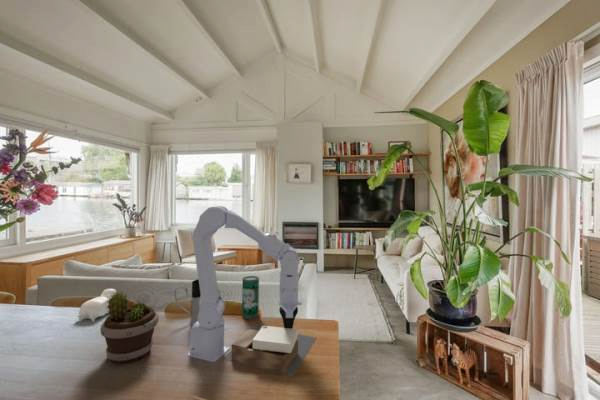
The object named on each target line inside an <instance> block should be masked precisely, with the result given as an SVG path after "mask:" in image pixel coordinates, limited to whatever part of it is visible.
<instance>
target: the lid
mask: <svg viewBox="0 0 600 400" xmlns="http://www.w3.org/2000/svg"><path fill="white" fill-rule="evenodd" d="M261 327H262V328H261V329H260V330H259V332H258V333H257V335H256V336H255V337H254V339H253V347H252V348H253V349H261V350H269V351H277V352H285V353H291V352H292V349H293V347H294V345H295V342H296V340H297V337H298V334H299V332H298V328H293V329H290V328H284V327H280V326H279V327H278V326H272V325H270V326H269V325H262V326H261Z"/></svg>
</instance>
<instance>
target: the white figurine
mask: <svg viewBox="0 0 600 400" xmlns="http://www.w3.org/2000/svg"><path fill="white" fill-rule="evenodd" d="M114 292H116V293H117V291H116V288H106V289H104V290H103V291H102V293H101V295H100V296H97V297H94V298H92V299H89V300H87V301H85V302H84V303H82V304H81V306H80V308H79V311H78V314H77V318H78V321H79V322H83V319H84V320H85V319H86V320H87V319H88V320H91V322H92V323H94V322H96V319H97V318H98V317H99V318H100V317H103V316H105V315H106V313H108V312H109V310H108V307H106V306H108V305H109V303H107V301H108V300H107V299H109V298H111V295H112V296H113V295H114V294H115V293H114ZM113 293H114V294H113ZM115 295H116V294H115ZM108 302H109V301H108ZM105 307H106V308H105Z"/></svg>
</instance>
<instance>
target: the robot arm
mask: <svg viewBox="0 0 600 400" xmlns="http://www.w3.org/2000/svg"><path fill="white" fill-rule="evenodd" d="M222 227H224V228H225V229H236V230H238V231H239V232H240V233H242V234H244V235H246V236H247V237H248V238H250V239H251V240H253V241H255V242H256V243H257V246H258V249H259V250H261V251H262V252H264V253H265V255H267V256H269V257H271V258H272V259H273V260H275V261H279V264H280V272H279V299H278V306H279V314H280V316H281V318H282V323H283V328H290V329H294V322H295V320H296V319H295V318H296V317H297V315H298V312H299V310H298V309H299V308H298V306H301V305H303V304H302V303H303V301H302V300H301V299H300V300H299V272H298V271H299V265H300V261H301V259H300V256H299V254H298V252H297V250H296V248H294V247H293V246H291V245H290V244H289V243H285V242H284V241H282V240H281V239H279V238H278V234H277V233H276V234H275V233H273V234H272V233H271V232H267V233H263V232H262V231H260V229H259V228H257V227H255V226H254V225H253V224H251V223H250V222H249V221H247V220H246V219H245V218H243V217H242V216H241V215H239V214H237V213H236V212H235V211H232V210H229V209H228V208H227V207H226V206H224V205H223V206H221V205H218V206H210V207H208V208H206V210H204V211H203V213H201V214H200V215H199V218H198V222H197V224H196V226H195V228H194V230H193V233H192V244H193V250H194V256H195V257H194V259H195V264H196V265H195V266H196V271H197V280H198V279H199V286H200V293H201V296H200V301H199V313H198V317H197V319H198V321H197V322H196V323H195V324H194V325H192V327H191V329H190V333H189V352H188V353H187V356H189V357H192V358H196V359H200V360H203V361H207V362H212V363H215V362H216V361H218V360H219V359H220V358H221V357H222V356H223V355H225V354H227V352H229V350H230V349H231V347H229V346H225V319H224V317H223V313H224V311H225V310H226V303H225V300H224V299H223V298H222V294H221V291H220V289H219V286H218V279H217V272H216V266H215V258H214V252H213V244H212V237H214V236H215V234H216V232H217V231H218V230H219V229H221V228H222Z"/></svg>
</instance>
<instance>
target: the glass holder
mask: <svg viewBox="0 0 600 400" xmlns="http://www.w3.org/2000/svg"><path fill="white" fill-rule="evenodd" d="M181 287H182V288H183V289H185V292H186V293H185V294H186V297H188V298H190V301H191V303H190V304H191V305H190V311H188V310H187V309H185V308H184V307H183V306H182V305H181V304H180V303H179V301H178V297H177V293H176V292H177V289H179V288H181ZM200 296H201V293H200V286H199V279H198V278H197V279H195V280H192V281H191V295H189V293H188V288H187V287H186V286H185V285H179V286H177V287H175V290H174V299H175V301H176V304H177V305H178V307H179V308H181V310H183V311H184V312H186V313H187V314H188V315H189V316H190V319H189V324H190V325H191V324H192V325H191V326H193V325H194V324H195V323H196V322H197V321H198V319H197V317H198V313H199V301H200Z"/></svg>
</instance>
